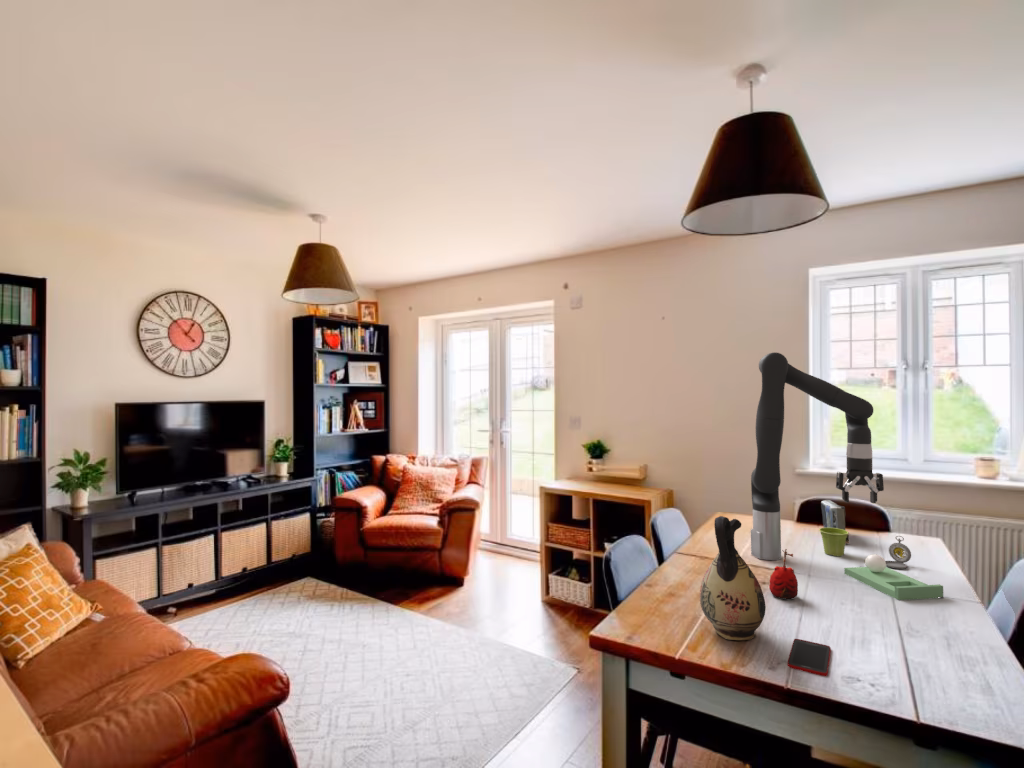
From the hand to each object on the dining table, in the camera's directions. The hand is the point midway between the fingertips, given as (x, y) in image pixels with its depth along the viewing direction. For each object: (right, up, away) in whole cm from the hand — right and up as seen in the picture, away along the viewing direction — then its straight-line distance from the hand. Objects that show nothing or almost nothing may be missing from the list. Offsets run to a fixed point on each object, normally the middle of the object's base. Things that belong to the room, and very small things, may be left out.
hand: (859, 502), depth 182 cm
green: (-3, -21, -20) cm, 29 cm away
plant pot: (-2, -22, +12) cm, 25 cm away
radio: (+11, -22, +34) cm, 42 cm away
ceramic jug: (-66, -22, -50) cm, 86 cm away
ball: (-4, -17, -14) cm, 22 cm away
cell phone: (-53, -22, -62) cm, 85 cm away
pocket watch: (+11, -22, -3) cm, 25 cm away
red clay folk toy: (-41, -22, -27) cm, 54 cm away
